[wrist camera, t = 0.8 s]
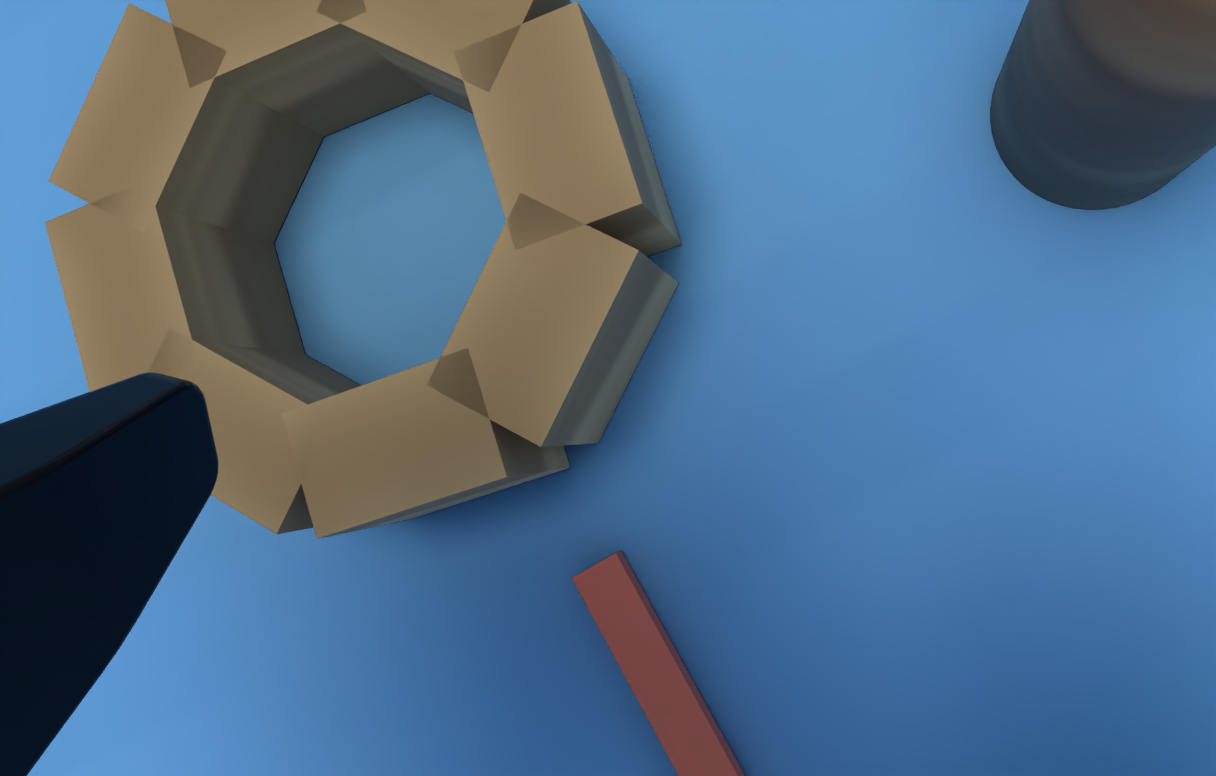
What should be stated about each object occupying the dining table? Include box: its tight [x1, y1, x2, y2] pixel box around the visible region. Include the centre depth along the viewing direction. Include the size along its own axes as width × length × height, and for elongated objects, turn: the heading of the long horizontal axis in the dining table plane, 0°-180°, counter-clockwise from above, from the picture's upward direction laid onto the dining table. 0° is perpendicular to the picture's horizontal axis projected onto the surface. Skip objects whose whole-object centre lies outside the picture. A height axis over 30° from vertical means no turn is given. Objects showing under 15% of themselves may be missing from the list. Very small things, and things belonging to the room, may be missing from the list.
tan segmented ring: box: [45, 0, 682, 539], centre depth 20 cm, size 10×10×4 cm
